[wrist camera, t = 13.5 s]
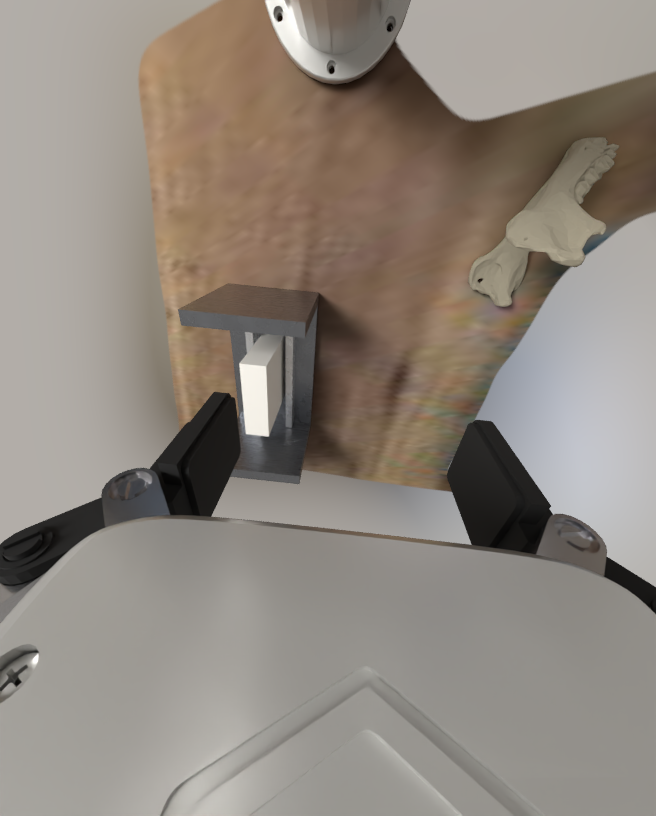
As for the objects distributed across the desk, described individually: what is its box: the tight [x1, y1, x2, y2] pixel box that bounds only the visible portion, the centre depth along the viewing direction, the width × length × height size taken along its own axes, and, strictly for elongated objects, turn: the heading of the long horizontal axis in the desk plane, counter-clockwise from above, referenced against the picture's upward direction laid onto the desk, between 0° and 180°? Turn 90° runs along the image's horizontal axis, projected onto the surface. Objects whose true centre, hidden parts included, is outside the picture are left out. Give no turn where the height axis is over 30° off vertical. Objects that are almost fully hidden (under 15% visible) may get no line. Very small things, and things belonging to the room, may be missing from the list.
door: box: [239, 334, 284, 437], centre depth 39 cm, size 10×3×10 cm, turn 175°
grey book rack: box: [178, 284, 319, 484], centre depth 38 cm, size 22×12×13 cm, turn 175°
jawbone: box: [468, 137, 620, 307], centre depth 29 cm, size 14×8×15 cm
